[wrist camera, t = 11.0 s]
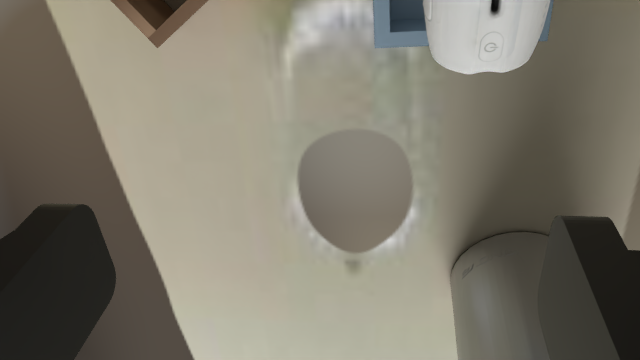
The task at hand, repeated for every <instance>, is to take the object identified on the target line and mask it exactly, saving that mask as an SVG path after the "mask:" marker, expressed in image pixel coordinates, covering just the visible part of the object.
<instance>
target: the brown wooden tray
mask: <svg viewBox="0 0 640 360" xmlns="http://www.w3.org/2000/svg"><path fill="white" fill-rule="evenodd" d="M111 1H112V2H113V3H114V4H115V5H116V6H117V7H118V8H119V9H120V10H121V11H122V12H123V13H124V14H125V15H126V16H127V17H128V19H129V20H130V21H131V22H132V23H133V24H134V25H135V26H136V27H137V28H138V29H139V30H140V31H141V32H142V33H143V34H144V35H145V36H146V37H147V38H148V39H149V40H150V41H151V42H152V43H153V44H154V45H155V46H156V47H157V48H158V47H159V46H160V45H161V44H162V43H164V42H165V41H166V40H167V39H168V38H169V37H170V36H171V35H172V34H173V33H174V32H175V31H176V30H177V29H178V28H179V27H180V26H182V25H183V24H184V23H185V22H186V21H187V20H188V19H189V18H190V17H191V16H192V15H193V14H194V13H195V12H196V11H197V10H198V9H199V8H201V7H202V6H203V5H204V4H205V3H206V2H207V1H208V0H187V1H186V2H185V3H184V4H182V5H181V6H180V7H179V8H178V9H177V10H176V11H175V12H174V11H173V10H172V9H171V8H170V7H169V6H168V5H167V4H166V3H165V2H164V1H163V0H111Z"/></svg>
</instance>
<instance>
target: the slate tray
mask: <svg viewBox="0 0 640 360" xmlns="http://www.w3.org/2000/svg"><path fill="white" fill-rule="evenodd" d="M552 7H553V0H550V4H549V8H548V12H547V16H546V20H545V24H544V27H543V30H542V33H541V35H540V38H539V40H538V41H547V40H548V33H549V27H550V20H551V13H552ZM373 9H374V39H375V48H389V47H413V46H429V43H428V38H427V31H426V23H425V14H424V7H423V0H373Z"/></svg>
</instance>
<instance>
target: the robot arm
mask: <svg viewBox="0 0 640 360" xmlns="http://www.w3.org/2000/svg"><path fill="white" fill-rule="evenodd" d="M115 283H116V273H115V268H114V265H113V262H112V259H111V257H110V254H109V251H108V249H107V246H106V244H105V241H104V238H103V236H102V233H101V230H100V227H99V225H98V222H97V219H96V217H95V215H94V212H93V211H92V209H91V208H90V207H89V206H87V205H84V204H43V205H40V206H38V207H37V208H36V209H35V210H34V211H33V212H32V213H31V214H30V215H29V216H28V217H27V218H26V219H25V220H24V221H23V222H22V223H21V224H20V226H19V227H18V228H17V229H16V230H15V231H13V232H11V233H9V234H8V235H6V236H5V237H3V238H2V239H0V360H74V359H75V357H76V356H77V354H78V352H79V351H80V349H81V348H82V346H83V344H84V343H85V341H86V339H87V338H88V336H89V335H90V333H91V331H92V330H93V328H94V327H95V325H96V323H97V321H98V320H99V318H100V317H101V315H102V313H103V312H104V310H105V309H106V307H107V306H108V304H109V302H110V300H111V298H112V296H113V293H114V289H115ZM450 284H451V293H452V303H453V313H454V325H455V334H456V344H457V354H458V360H640V251H636V250H633V251H632V250H628V249H627V247H626V246H625V244H624V242H623V240H622V238H621V236H620V234H619V232H618V231H617V229H616V227H615V225H614V223H613V222H612V220H611V219H610V218H608V217H584V216H556V217H555V218H554V220H553V222H552V225H551V229H550V234H549V236H546V235H542V234H538V233H529V232H514V233H506V234H501V235H496V236H493V237H490V238H488V239H485V240H482V241H480V242H479V243H477V244H475V245H474V246H472V247H470V248H469V249H468V250H467V251H466V252H465V253H464V254H462V255H461V257H460V258H459V259H458V261H457V262H456V263H455V265H454V268H453V270H452V273H451V283H450Z"/></svg>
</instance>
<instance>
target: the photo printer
mask: <svg viewBox="0 0 640 360" xmlns="http://www.w3.org/2000/svg"><path fill="white" fill-rule="evenodd" d="M549 4H550V0H423V7H424V14H425V23H426V31H427V38H428V43H429V47H430V51H431V54H432V56H433V58H434V60H435V61H436V62H437V63H439V64H440V65H442V66H443V67H445V68H447V69H450V70H452V71H456V72H460V73H463V74H475V73H479V72H488V71H491V72H500V73H504V72H508V71H511V70H514V69H516V68H518V67H520V66H522V65H523V64H525V63H526V62H527V61H528V60H529V59H530V57H531V55H532V53H533V51H534V49H535V47H536V45H537V42H538V40H539V38H540V35H541V33H542V30H543V27H544V24H545V20H546V16H547V12H548V8H549Z"/></svg>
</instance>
